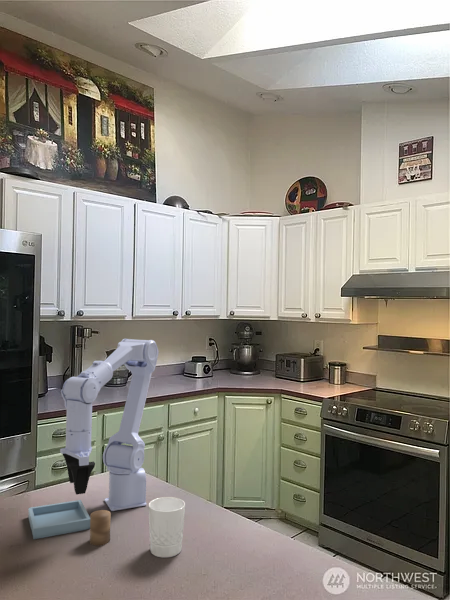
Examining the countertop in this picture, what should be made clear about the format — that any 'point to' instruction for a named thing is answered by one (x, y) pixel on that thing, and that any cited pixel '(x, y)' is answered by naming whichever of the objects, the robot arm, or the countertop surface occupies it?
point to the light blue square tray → (58, 519)
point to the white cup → (166, 526)
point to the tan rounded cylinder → (100, 527)
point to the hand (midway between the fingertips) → (77, 487)
